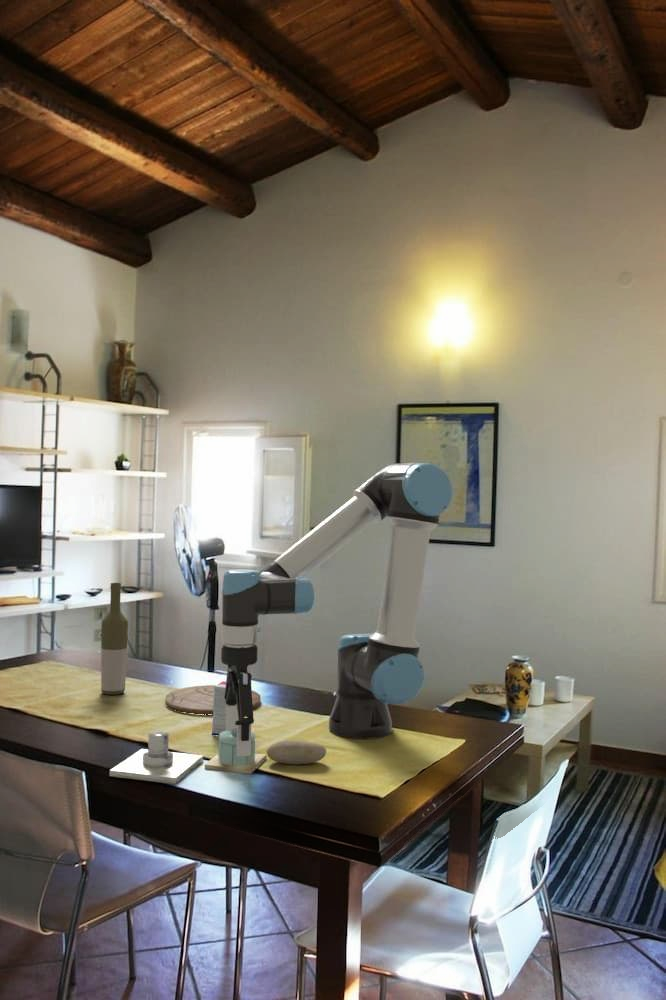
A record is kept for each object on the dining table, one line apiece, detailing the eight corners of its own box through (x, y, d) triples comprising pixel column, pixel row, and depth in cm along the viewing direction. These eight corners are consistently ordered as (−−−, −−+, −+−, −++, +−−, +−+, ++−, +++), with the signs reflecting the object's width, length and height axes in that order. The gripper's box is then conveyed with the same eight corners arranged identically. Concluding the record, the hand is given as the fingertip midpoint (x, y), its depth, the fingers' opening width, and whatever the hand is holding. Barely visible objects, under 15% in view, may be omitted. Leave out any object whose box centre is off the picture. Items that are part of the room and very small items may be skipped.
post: (203, 761, 176) (203, 728, 176) (175, 784, 163) (176, 748, 163) (141, 754, 180) (142, 721, 179) (109, 776, 166) (110, 741, 166)
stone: (264, 746, 179) (317, 728, 182) (272, 776, 178) (326, 757, 180) (265, 745, 174) (320, 727, 176) (274, 776, 172) (329, 757, 175)
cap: (257, 764, 173) (258, 734, 173) (221, 766, 171) (222, 736, 171) (250, 752, 180) (251, 724, 180) (215, 754, 178) (216, 725, 178)
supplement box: (235, 738, 193) (237, 688, 193) (211, 735, 194) (212, 686, 194) (243, 730, 199) (244, 682, 198) (219, 728, 200) (220, 680, 199)
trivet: (222, 723, 206) (222, 715, 206) (145, 706, 218) (145, 699, 218) (278, 701, 227) (278, 694, 227) (205, 687, 240) (205, 680, 240)
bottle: (131, 693, 230) (134, 583, 229) (109, 697, 224) (112, 585, 224) (116, 688, 234) (119, 581, 234) (94, 692, 229) (97, 583, 228)
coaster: (266, 758, 179) (266, 754, 179) (251, 773, 170) (251, 769, 170) (222, 753, 182) (222, 749, 182) (204, 768, 172) (204, 764, 172)
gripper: (270, 655, 164) (267, 763, 165) (246, 632, 188) (244, 726, 189) (232, 657, 162) (229, 766, 163) (212, 633, 186) (210, 728, 187)
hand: (237, 745), depth 176 cm, fingers open, 13 cm apart
